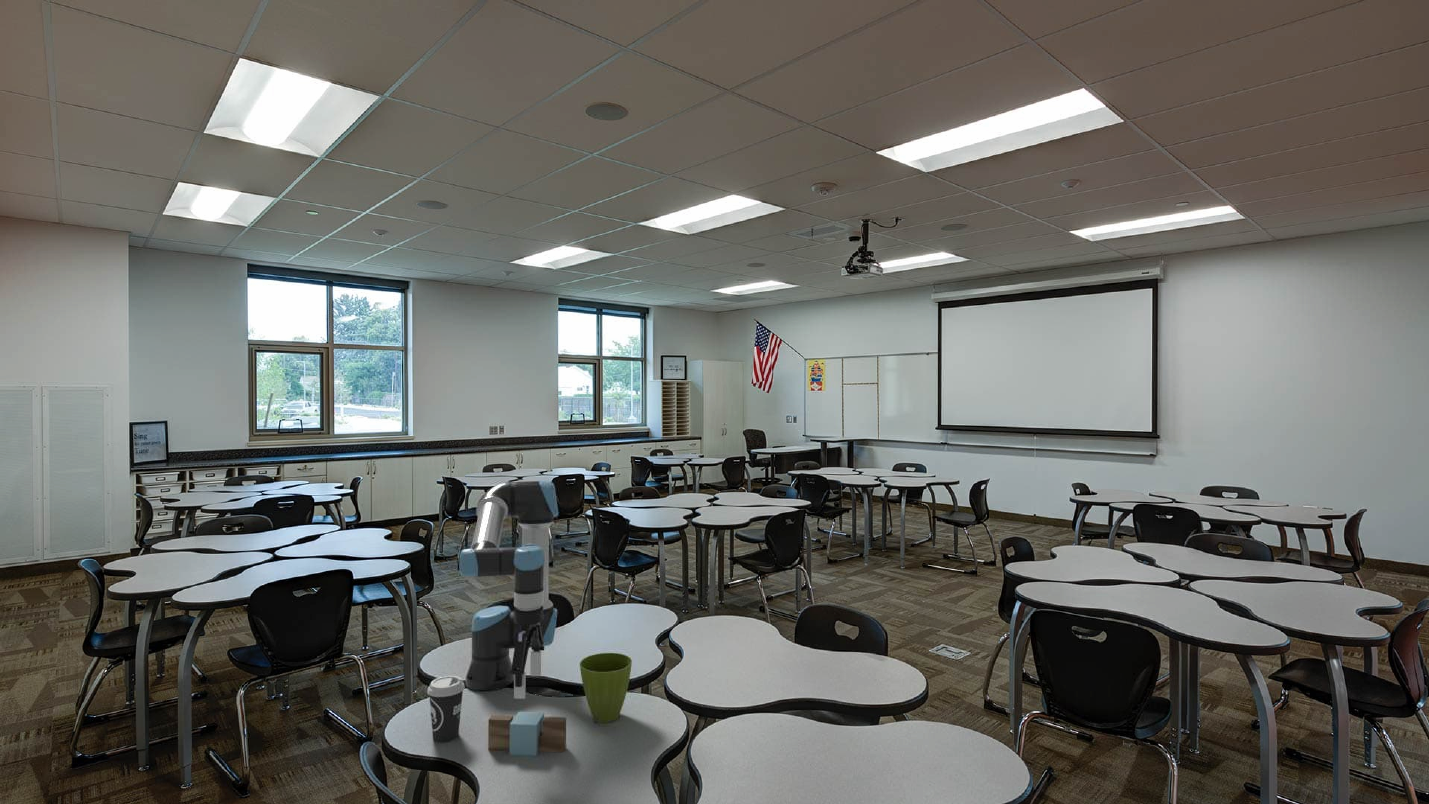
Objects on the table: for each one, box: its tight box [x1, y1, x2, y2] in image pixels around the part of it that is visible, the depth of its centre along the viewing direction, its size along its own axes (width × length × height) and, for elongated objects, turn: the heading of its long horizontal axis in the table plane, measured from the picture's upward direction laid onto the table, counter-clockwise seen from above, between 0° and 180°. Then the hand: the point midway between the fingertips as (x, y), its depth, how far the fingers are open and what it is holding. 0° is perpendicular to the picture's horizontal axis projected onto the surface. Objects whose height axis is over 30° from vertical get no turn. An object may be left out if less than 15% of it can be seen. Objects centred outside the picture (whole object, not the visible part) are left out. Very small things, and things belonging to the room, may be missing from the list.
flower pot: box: [579, 652, 633, 723], centre depth 198 cm, size 15×15×16 cm
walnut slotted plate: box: [487, 714, 567, 753], centre depth 180 cm, size 2×20×8 cm, turn 88°
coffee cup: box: [426, 675, 466, 743], centre depth 186 cm, size 10×10×15 cm
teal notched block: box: [509, 711, 545, 757], centre depth 180 cm, size 7×7×8 cm
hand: (527, 686), depth 180 cm, fingers open, 13 cm apart
